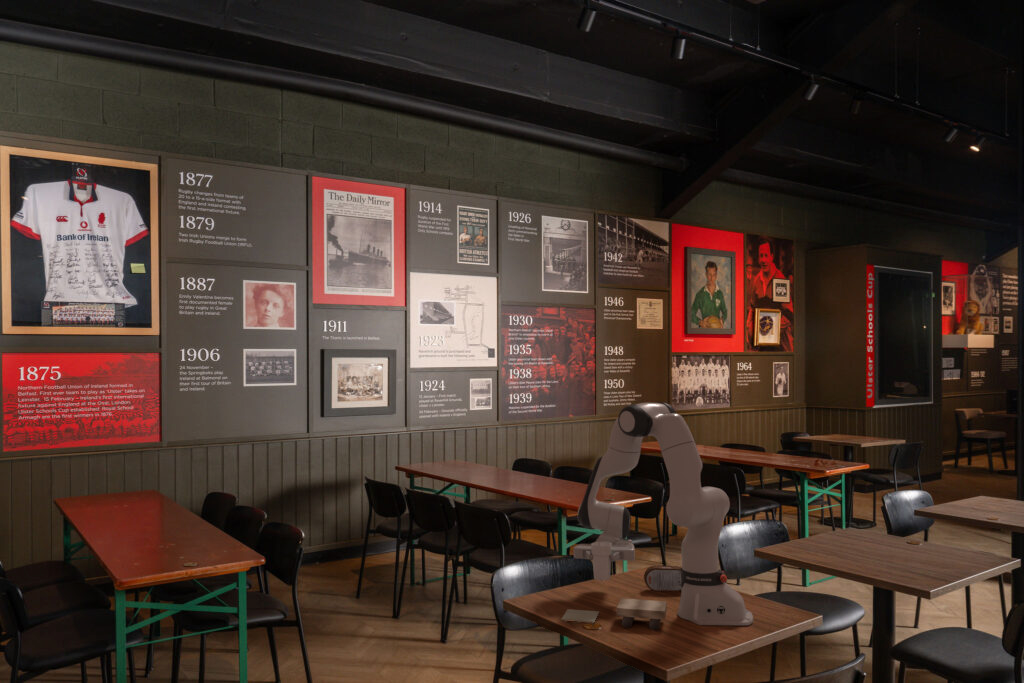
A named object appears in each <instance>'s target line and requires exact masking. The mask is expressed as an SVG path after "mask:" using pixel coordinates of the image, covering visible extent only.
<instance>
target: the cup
mask: <svg viewBox="0 0 1024 683" xmlns="http://www.w3.org/2000/svg"><path fill="white" fill-rule="evenodd" d="M590 544H591V552H592V567H593V568H592V570H593V579H594V580H596V581H602V582H604V581H609V580H611V567H612V566H611V565H612V564H611V563H612V562H611V561H610V559H611V558H610V555H611V543H608V542H596V541H594V542H591V543H590Z"/></svg>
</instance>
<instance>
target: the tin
mask: <svg viewBox="0 0 1024 683" xmlns="http://www.w3.org/2000/svg"><path fill="white" fill-rule="evenodd" d="M681 568H682V566H677V565H652V566H649V567H648V568H646V570H645V571H644V574H643V580H644V584H645V585H646V587H647V588H648V589H649V590H651V591H653V590H656V591H655V592H666V591H680V592H681V589H682V587H681V584H680V572H681ZM658 590H659V591H658ZM660 590H661V591H660Z"/></svg>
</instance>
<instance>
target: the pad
mask: <svg viewBox="0 0 1024 683" xmlns="http://www.w3.org/2000/svg"><path fill="white" fill-rule="evenodd" d="M598 614H599V615H600V611H598V610H597V611H596V610H584V609H571V608H570V609H569V608H567V609H566V611H565V612H564V614H563V616H562V618H561V620H562V619H563V620H574V621H582V622H592V623H591V624H593V623H594V622H595V623H596V621H597V619H596V618H598V617H599V615H598ZM597 616H598V617H597ZM595 620H596V621H595ZM595 623H594V624H595Z"/></svg>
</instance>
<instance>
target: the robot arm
mask: <svg viewBox="0 0 1024 683" xmlns="http://www.w3.org/2000/svg"><path fill="white" fill-rule="evenodd" d="M651 436H652V437H654V438H655V439H656V440H657V442H658V445H659V450H660V451H661V452H660V453H661V455H662V458H663V461H664V464H665V467H666V470H667V474H668V479H669V499H668V501H667V502H666V507H665V508H666V515H667V517H668V520H669V521H670V522H671V523H672V524H673V525H675V526H677V527H682V528H687V532H686V534H685V536H684V538H683V540H682V541H681V544H680V545H681V546H680V548H681V572H680V584H681V587H682V589H681V591H680V600H679V606H678V609H677V616H679V617H680V618H682V619H684V620H686V621H689V622H692V623H694V624H696V625H698V626H699V625H700V626H750V625H751V624H753V622H754V616H753V612H751V611H750V610H749V609H746V605H745V600H744V598H743V596H742V595H741V594H740V593H739V592H738V591H737V590H735V589H734V588H733V587H731V586H730V585H729V584H728V583H726V582H727V581H728V577H727V575H726V573H725V571H724V570H721V569H719V543H720V542H719V541H720V536H721V532H722V527H723V524H724V520H725V518H726V516H727V513H728V512H729V510H730V508H731V507H730V506H731V504H730V503H731V502H730V498H729V496H728V495H727V493H726V492H725V491H724V490H723V489H721V488H718V487H714V486H703V487H702V482H701V473H702V469H703V466H704V465H703V461H702V459H701V456H700V453H699V450H698V447H697V444H696V442H695V440H694V436H693V434H692V432H691V430H690V427H689V426H688V424H687V422H686V421H685V418H684V417H683V416H682V415H681V414H680V413H679V414H678V413H677V411H676V410H675V408H674V407H673V406H672V405H671V404H668V403H666V402H662V401H661V402H659V401H657V402H640V403H635V404H629V405H626V406H624V407H623V408H622V409H621V410H620V411H619V414H618V416H617V418H616V419H615V420H614V423H613V426H612V428H611V432H610V437H609V440H608V447H607V450H606V452H605V454H604V455H603V456H600V457H598V458H597V460H596V462H595V464H594V466H593V470H592V472H591V475H590V477H589V480H588V484H587V487H586V489H585V492H584V496H583V499H582V501H581V503H580V504H579V506H578V510H577V518H576V519H577V521H578V522H579V524H580V525H581V526H582V527H583V529H584V528H585V529H586V528H587V529H592V530H593V529H595V530H600V531H602V532H601V534H599V536H598V537H597V539H596V540H595V542H608V543H611V555H610V558H611V559H610V561H611V563H612V562H617V561H618V562H619V561H626V562H627V561H628V562H631V561H632V562H633V561H635V560H636V555H635V554H636V551H635V545H634V544H633V540H632V539H629V538H627V537H628V535H629V533H630V531H631V523H632V517H631V516H632V515H631V513H630V511H629V509H628V508H627V507H626V506H624V505H619V504H615V503H611V502H605V501H600V500H597V494H598V492H599V489H600V487H601V486H600V485H601V482H602V480H604V479H605V478H607V477H610V476H615V475H622V474H623V475H624V474H626V473H628V472H631V471H632V470H634V468H636V467H637V465H638V463H639V460H640V456H641V451H642V443H643V439H644V438H645V437H651ZM572 554H573V558H574V559H576V560H577V559H580V560H582V559H583V560H588V561H593V559H592V552H591V543H579V544H577V545H575V546H574V547H573V552H572Z"/></svg>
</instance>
